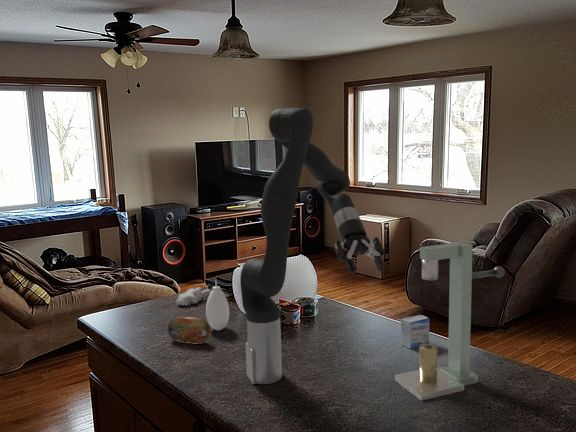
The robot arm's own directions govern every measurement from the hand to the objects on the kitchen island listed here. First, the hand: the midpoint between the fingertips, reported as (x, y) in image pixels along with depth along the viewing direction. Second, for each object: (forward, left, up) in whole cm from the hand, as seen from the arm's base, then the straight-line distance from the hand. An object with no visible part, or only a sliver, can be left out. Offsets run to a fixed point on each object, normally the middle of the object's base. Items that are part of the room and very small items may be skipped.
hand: (367, 270), depth 147 cm
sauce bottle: (-35, +44, -27) cm, 62 cm away
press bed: (+16, -19, -27) cm, 37 cm away
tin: (-46, +37, -27) cm, 65 cm away
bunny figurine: (-37, +79, -28) cm, 92 cm away
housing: (+7, -19, -26) cm, 33 cm away
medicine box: (+19, +5, -27) cm, 34 cm away
